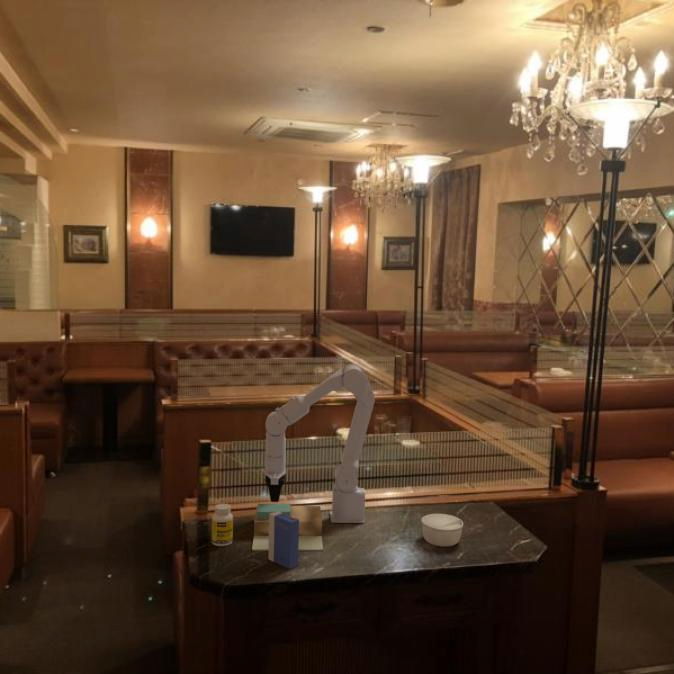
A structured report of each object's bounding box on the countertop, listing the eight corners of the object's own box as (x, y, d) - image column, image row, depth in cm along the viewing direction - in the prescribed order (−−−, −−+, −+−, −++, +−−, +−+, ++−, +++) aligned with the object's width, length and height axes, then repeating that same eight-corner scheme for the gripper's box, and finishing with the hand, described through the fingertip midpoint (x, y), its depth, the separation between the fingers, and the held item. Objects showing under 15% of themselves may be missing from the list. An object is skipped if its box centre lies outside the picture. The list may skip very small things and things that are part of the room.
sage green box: (290, 510, 191) (290, 503, 191) (290, 519, 185) (290, 511, 185) (257, 510, 191) (257, 503, 190) (256, 518, 185) (256, 511, 184)
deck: (320, 519, 196) (320, 505, 196) (321, 536, 184) (322, 521, 184) (256, 519, 195) (256, 505, 195) (254, 536, 183) (254, 521, 183)
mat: (321, 537, 184) (321, 536, 184) (322, 550, 175) (322, 549, 175) (253, 536, 183) (254, 535, 183) (251, 550, 174) (251, 549, 174)
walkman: (298, 565, 166) (299, 518, 165) (289, 569, 164) (290, 521, 163) (276, 555, 172) (277, 509, 170) (268, 559, 169) (268, 512, 168)
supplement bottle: (215, 548, 175) (215, 511, 174) (208, 540, 180) (209, 504, 179) (235, 544, 178) (236, 508, 176) (228, 536, 182) (229, 501, 181)
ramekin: (459, 551, 177) (460, 531, 177) (416, 545, 180) (417, 525, 180) (464, 535, 188) (465, 516, 187) (424, 529, 191) (425, 511, 190)
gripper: (262, 447, 201) (261, 492, 203) (259, 462, 187) (259, 510, 188) (286, 447, 202) (285, 492, 203) (285, 462, 187) (285, 510, 189)
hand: (274, 501), depth 196 cm, fingers closed
